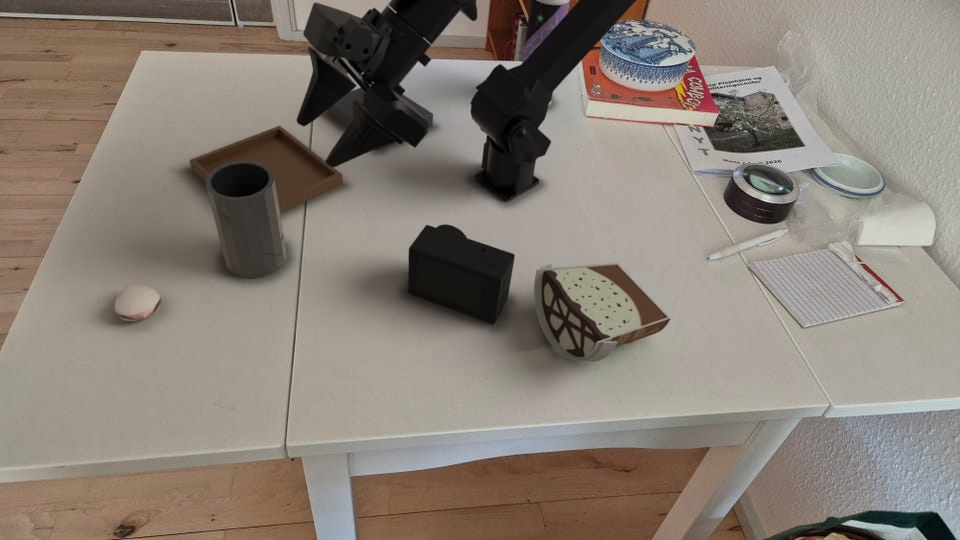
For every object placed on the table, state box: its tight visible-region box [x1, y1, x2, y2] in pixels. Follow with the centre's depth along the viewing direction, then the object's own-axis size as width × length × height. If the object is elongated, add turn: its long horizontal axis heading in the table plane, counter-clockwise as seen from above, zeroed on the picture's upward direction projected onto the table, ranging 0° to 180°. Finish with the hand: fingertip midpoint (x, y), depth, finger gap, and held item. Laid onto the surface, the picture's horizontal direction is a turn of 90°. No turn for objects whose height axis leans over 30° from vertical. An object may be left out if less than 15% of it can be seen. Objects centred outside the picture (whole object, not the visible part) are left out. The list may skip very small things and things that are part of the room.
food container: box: [533, 262, 672, 363], centre depth 70 cm, size 12×6×10 cm
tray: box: [189, 125, 344, 214], centre depth 85 cm, size 14×13×2 cm
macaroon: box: [113, 283, 162, 322], centre depth 68 cm, size 4×5×2 cm
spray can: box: [521, 0, 571, 107], centre depth 99 cm, size 6×6×20 cm
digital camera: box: [407, 223, 516, 325], centre depth 72 cm, size 10×5×7 cm, turn 68°
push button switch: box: [326, 87, 434, 151], centre depth 96 cm, size 12×10×4 cm
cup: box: [205, 161, 287, 279], centre depth 72 cm, size 7×7×11 cm
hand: (313, 143), depth 70 cm, fingers open, 8 cm apart
